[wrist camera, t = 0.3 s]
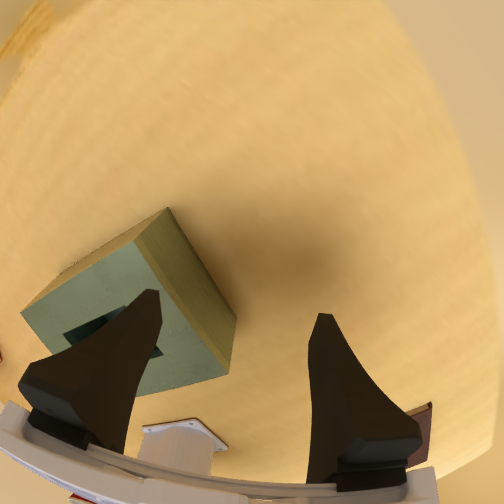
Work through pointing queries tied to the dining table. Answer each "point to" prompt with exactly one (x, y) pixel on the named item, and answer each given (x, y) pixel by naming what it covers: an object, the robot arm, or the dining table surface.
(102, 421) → the robot arm
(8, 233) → the dining table surface
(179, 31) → the dining table surface
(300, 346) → the dining table surface
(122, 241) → the green tissue box
